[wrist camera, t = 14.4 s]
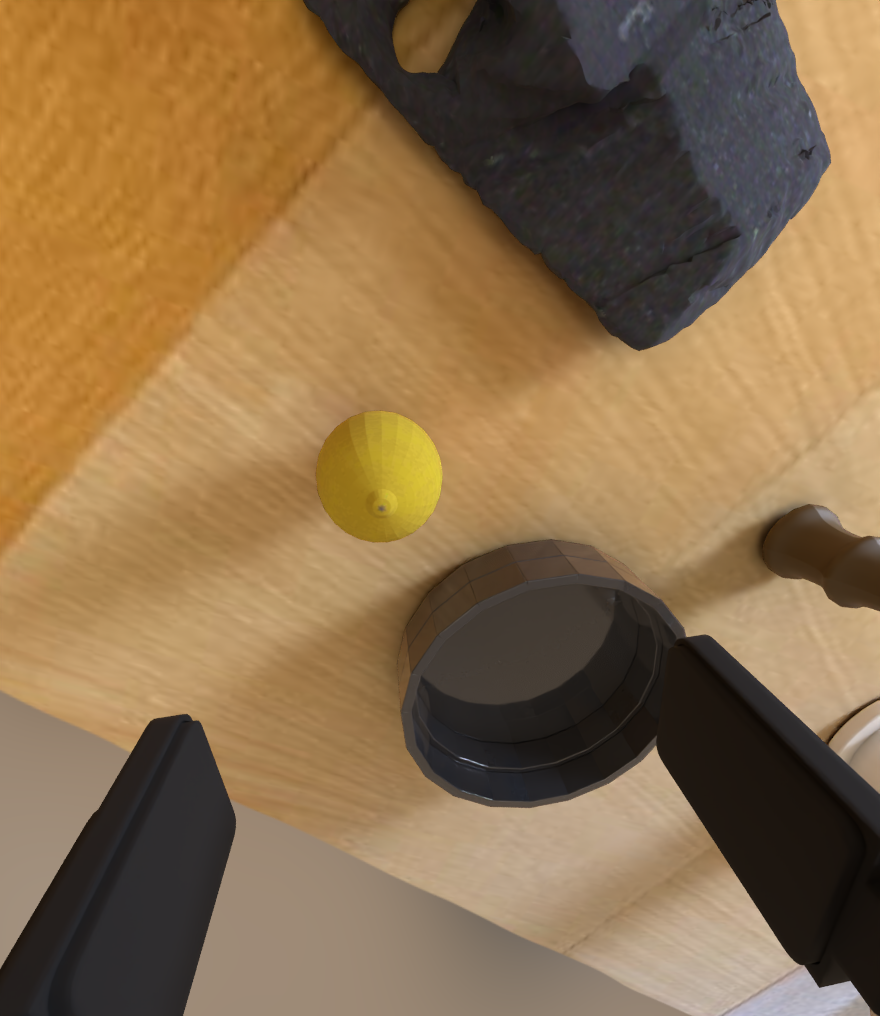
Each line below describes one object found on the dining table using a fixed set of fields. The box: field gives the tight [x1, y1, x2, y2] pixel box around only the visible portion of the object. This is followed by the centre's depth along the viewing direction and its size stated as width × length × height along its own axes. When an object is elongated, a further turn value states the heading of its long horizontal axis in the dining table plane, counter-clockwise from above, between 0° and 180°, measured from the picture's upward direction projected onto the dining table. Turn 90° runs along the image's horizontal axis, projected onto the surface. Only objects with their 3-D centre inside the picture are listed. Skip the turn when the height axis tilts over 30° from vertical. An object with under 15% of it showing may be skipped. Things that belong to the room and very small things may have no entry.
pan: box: [397, 539, 686, 808], centre depth 29 cm, size 17×17×4 cm
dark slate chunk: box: [303, 0, 831, 351], centre depth 17 cm, size 15×22×5 cm
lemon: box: [316, 411, 442, 542], centre depth 20 cm, size 6×6×8 cm
